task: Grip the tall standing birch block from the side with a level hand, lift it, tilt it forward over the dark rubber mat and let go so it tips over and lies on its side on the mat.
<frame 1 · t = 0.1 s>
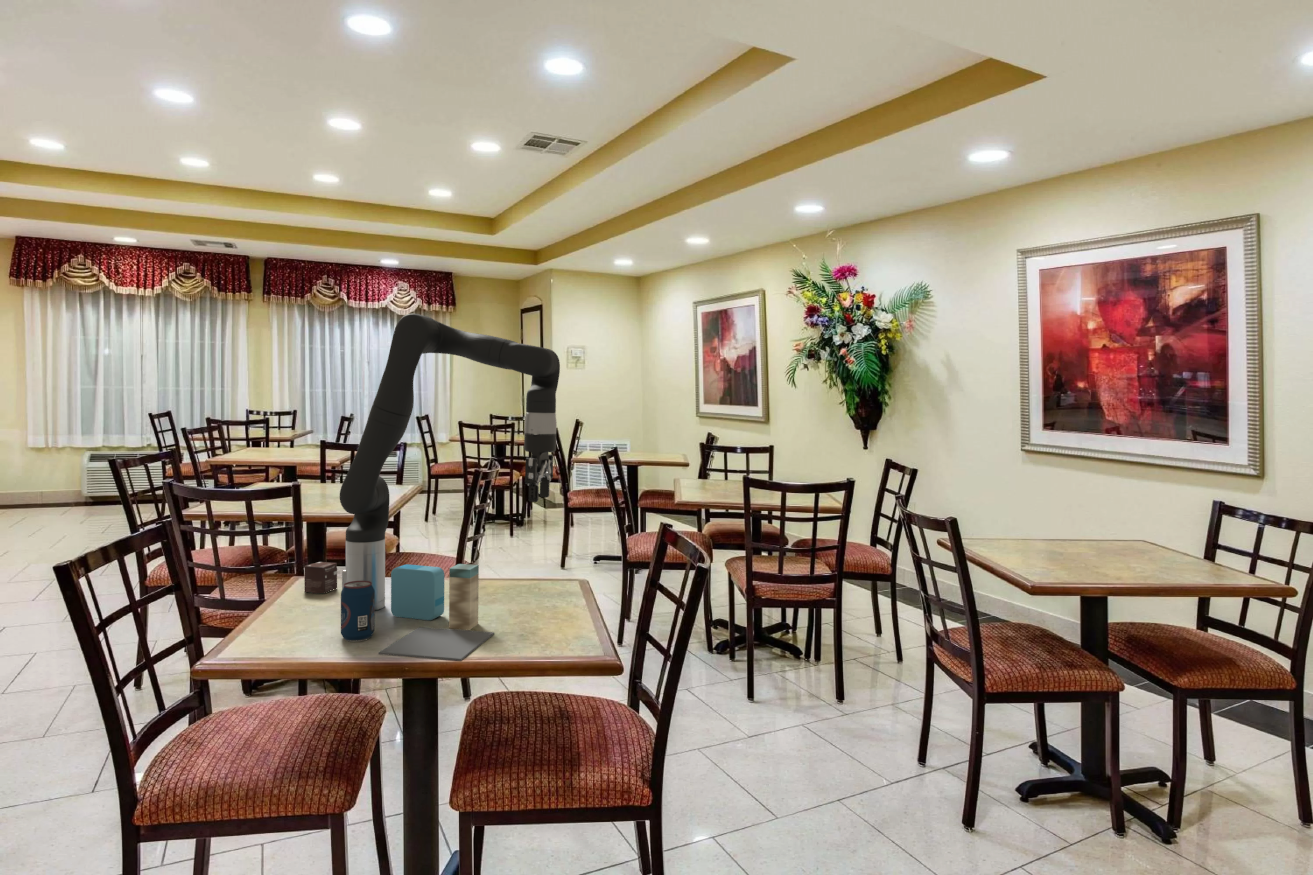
hand: (539, 499, 183), 29 cm above the table, tool pointing down, fingers open, 8 cm apart
birch block: (463, 626, 178), on the table
data package: (417, 617, 185), on the table
box: (320, 591, 207), on the table
soda can: (357, 638, 168), on the table
rubber mat: (439, 643, 165), on the table
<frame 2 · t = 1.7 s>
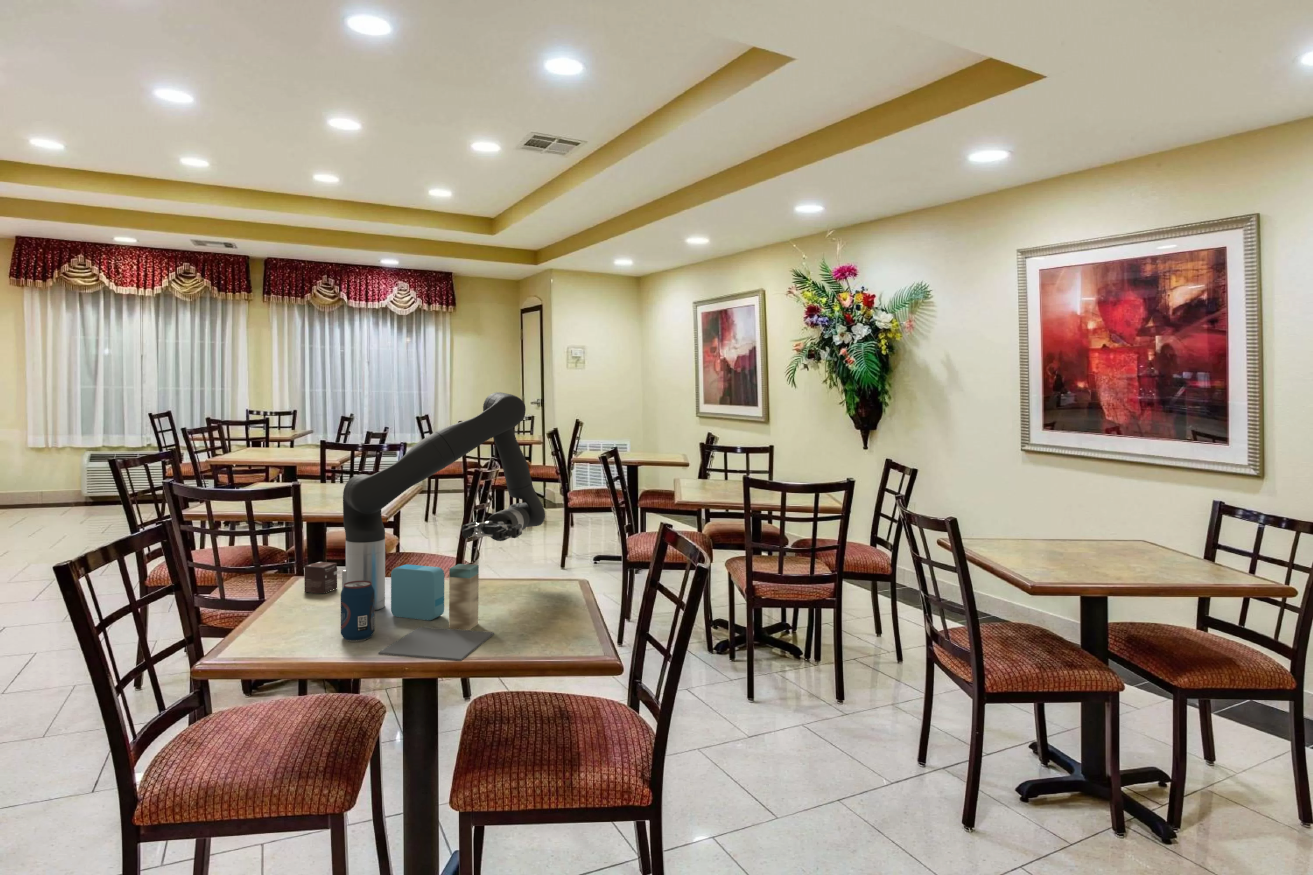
hand: (481, 535, 187), 20 cm above the table, tool horizontal, fingers open, 8 cm apart
nothing on the table moved.
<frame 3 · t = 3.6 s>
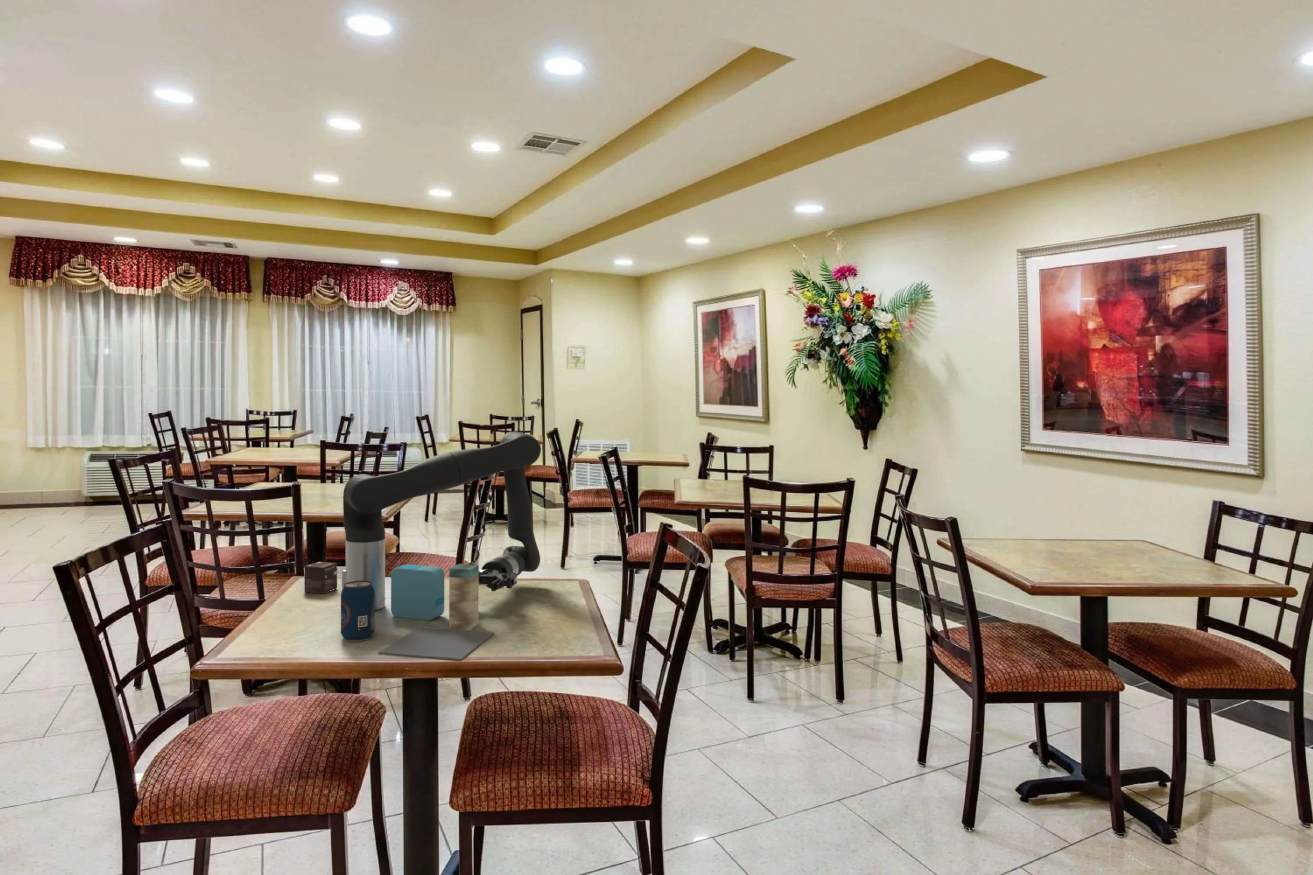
hand: (475, 586, 185), 8 cm above the table, tool horizontal, fingers open, 8 cm apart
nothing on the table moved.
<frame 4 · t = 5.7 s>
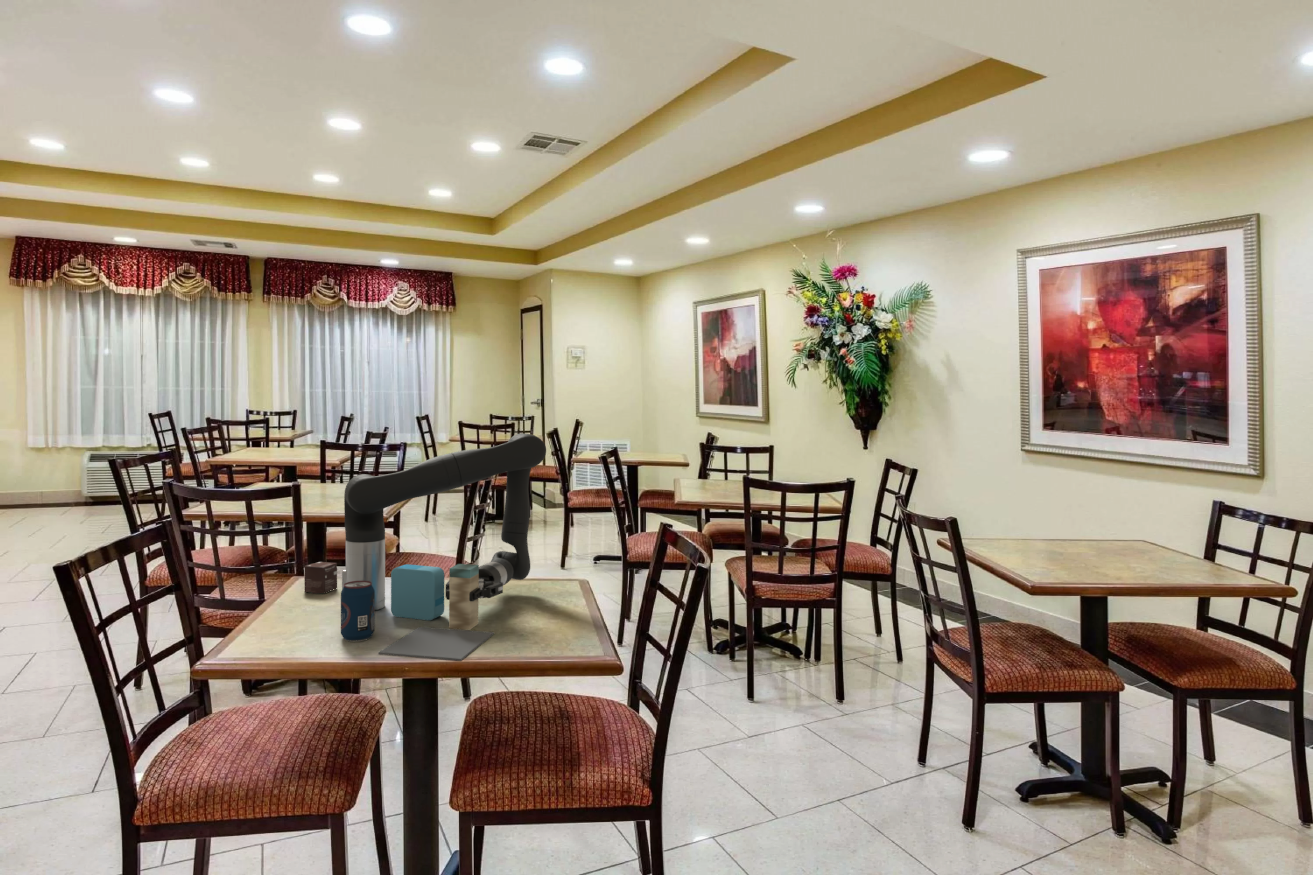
hand: (459, 596, 175), 8 cm above the table, tool horizontal, fingers closed on birch block, 5 cm apart
birch block: (463, 626, 178), on the table, touching gripper
everything else where it was.
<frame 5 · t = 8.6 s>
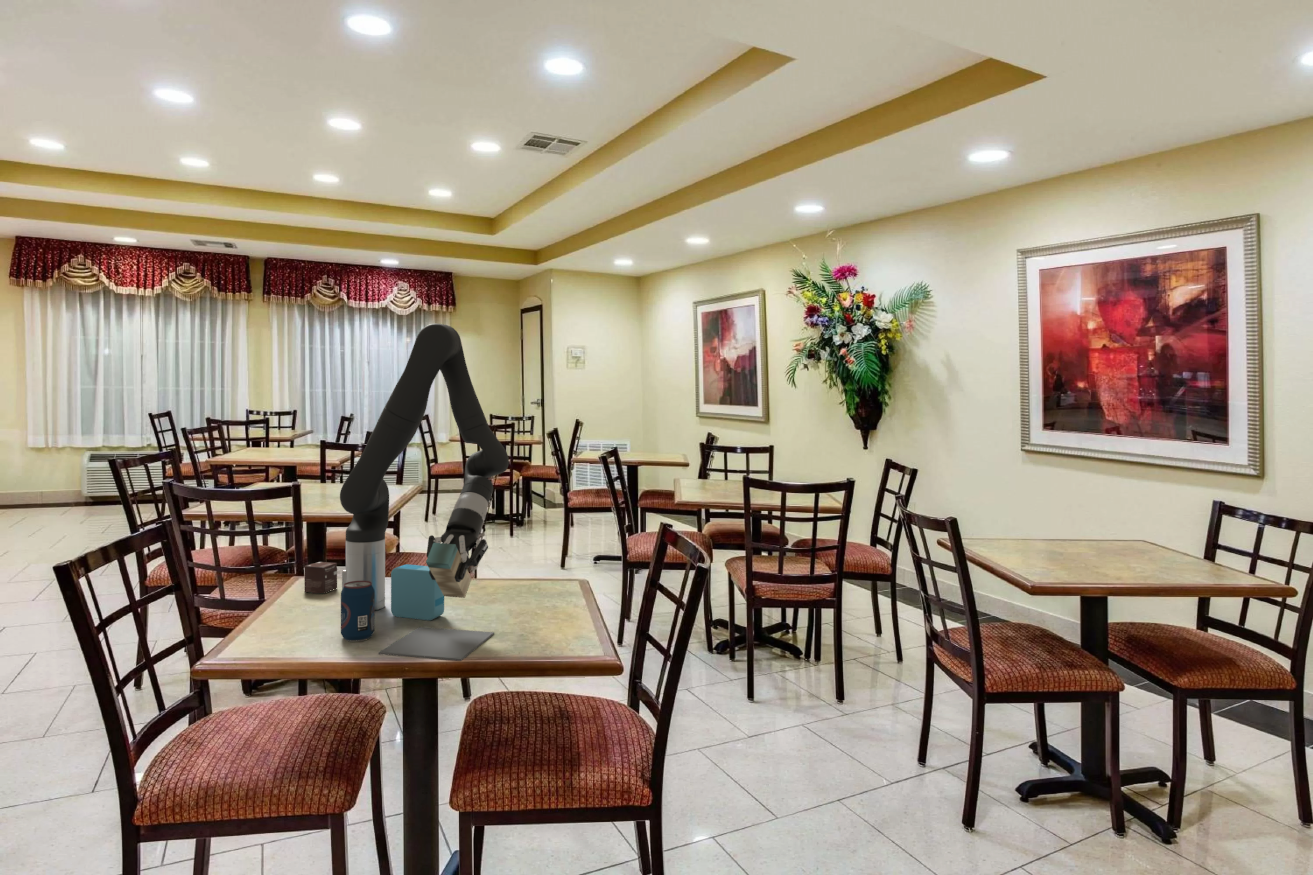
hand: (445, 578, 167), 14 cm above the table, tool tilted 45°, fingers closed on birch block, 5 cm apart
birch block: (457, 587, 175), point 10 cm above the table, tilted 45°, touching gripper
everything else where it was.
when the fingers open (8 cm above the table, at t = 10.5 s): birch block drops 1 cm and tips over, resting on rubber mat.
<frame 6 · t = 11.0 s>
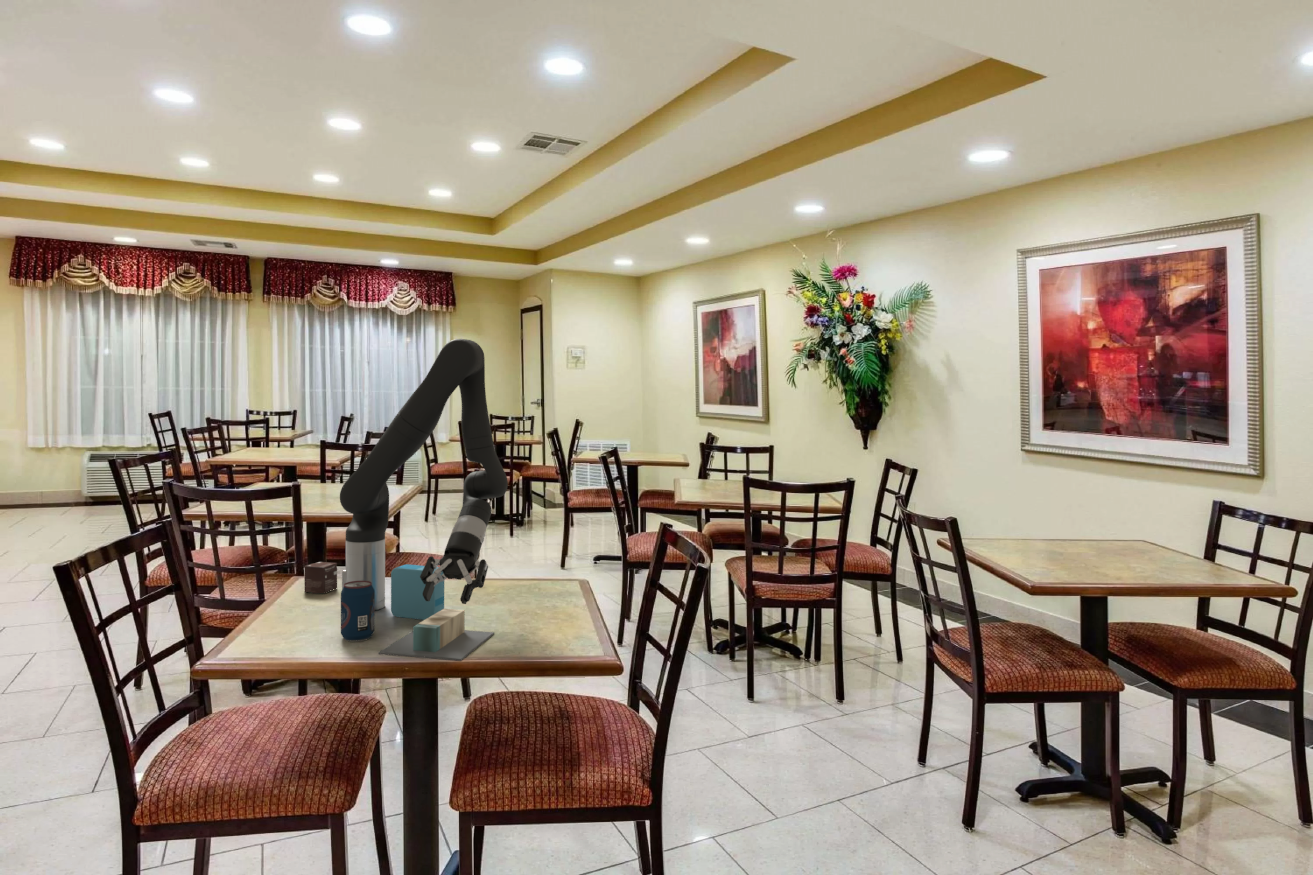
hand: (444, 600, 167), 9 cm above the table, tool tilted 45°, fingers open, 8 cm apart
birch block: (454, 620, 173), point 3 cm above the table, tilted 90°, touching rubber mat
everything else where it was.
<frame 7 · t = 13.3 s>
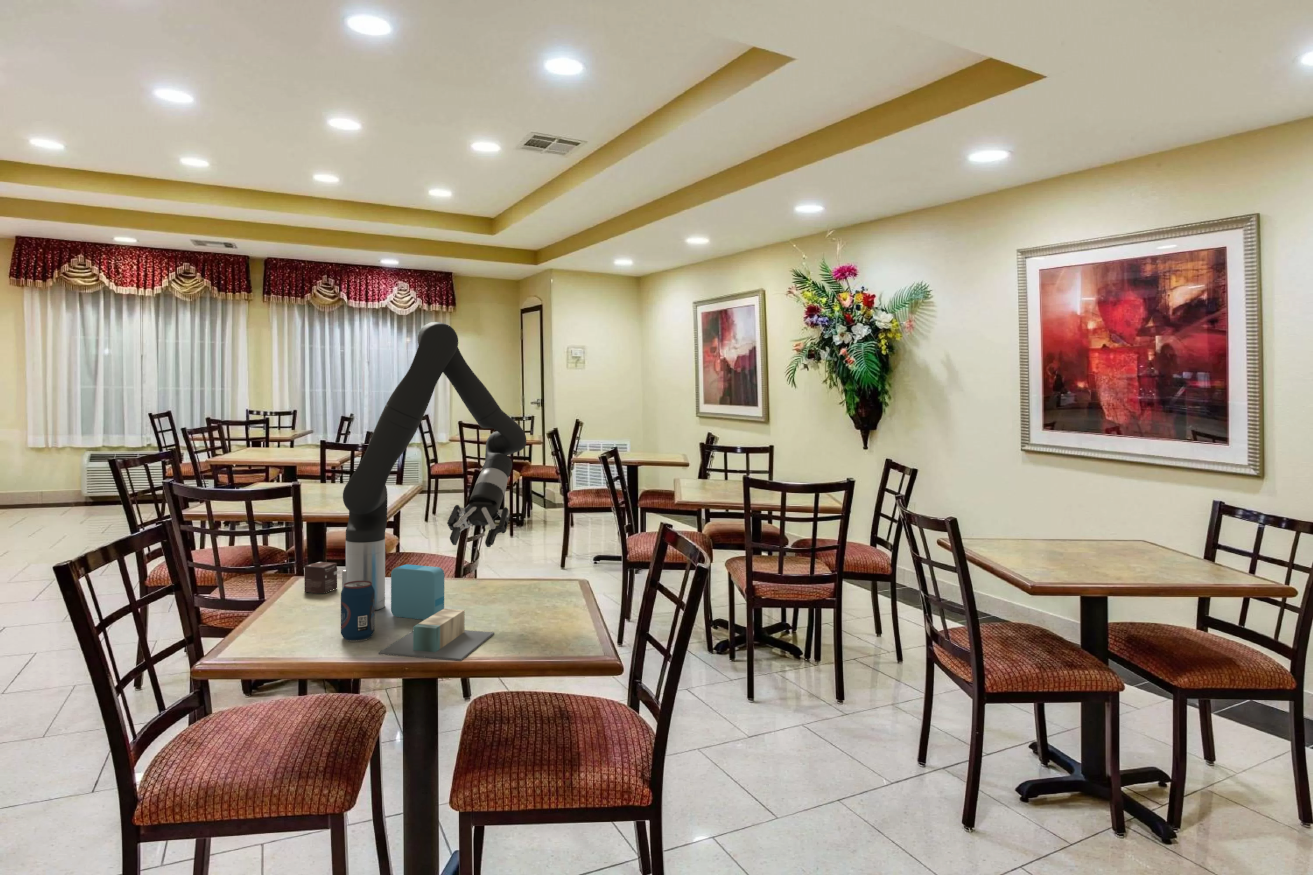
hand: (470, 544, 180), 19 cm above the table, tool tilted 45°, fingers open, 8 cm apart
nothing on the table moved.
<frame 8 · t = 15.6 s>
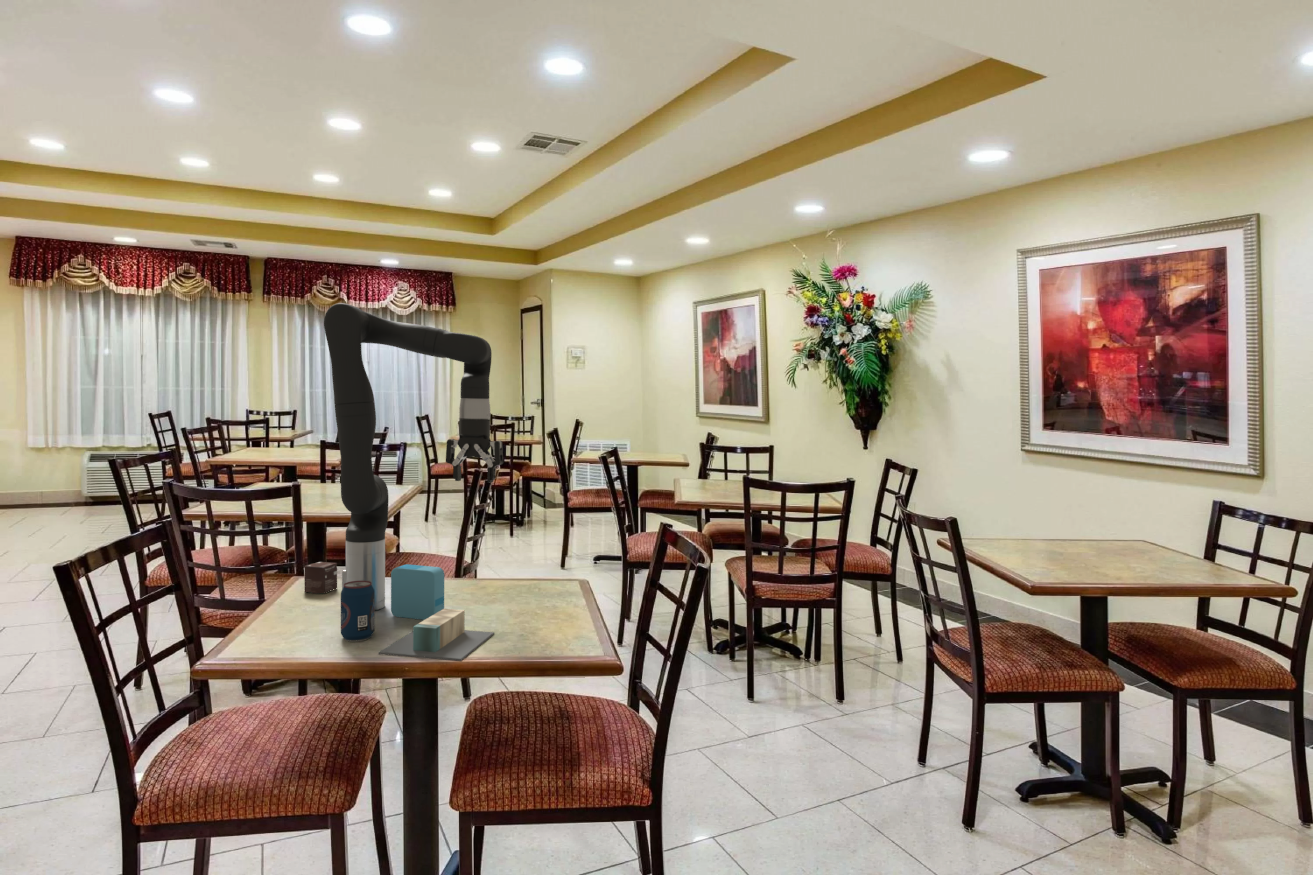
hand: (474, 481, 192), 32 cm above the table, tool pointing down, fingers open, 8 cm apart
nothing on the table moved.
at the end: birch block tilted 90°; birch block inside the target area on the rubber mat (7.7 cm from its centre), point 2.9 cm above the rubber mat's base; the gripper is holding nothing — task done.
